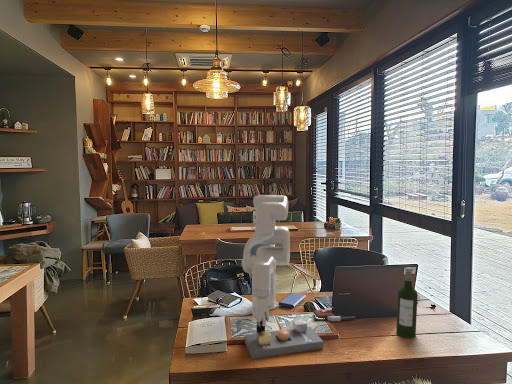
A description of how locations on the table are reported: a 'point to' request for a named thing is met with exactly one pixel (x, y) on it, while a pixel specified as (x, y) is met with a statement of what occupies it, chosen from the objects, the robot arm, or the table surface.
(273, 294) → the robot arm
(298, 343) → the grey slotted board
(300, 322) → the grey slider
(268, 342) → the brass slider
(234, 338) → the table surface
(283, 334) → the terracotta button
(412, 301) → the wine bottle
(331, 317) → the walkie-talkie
